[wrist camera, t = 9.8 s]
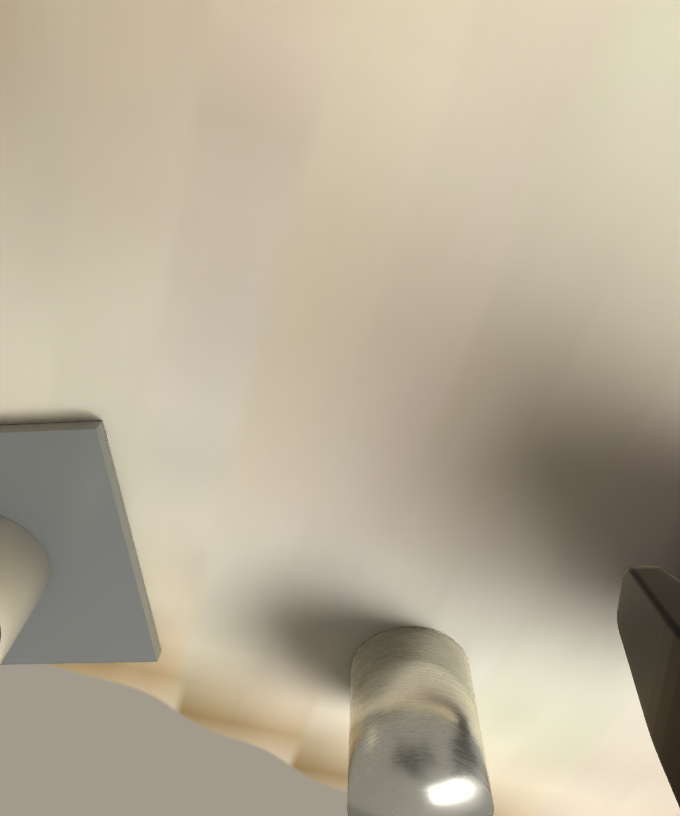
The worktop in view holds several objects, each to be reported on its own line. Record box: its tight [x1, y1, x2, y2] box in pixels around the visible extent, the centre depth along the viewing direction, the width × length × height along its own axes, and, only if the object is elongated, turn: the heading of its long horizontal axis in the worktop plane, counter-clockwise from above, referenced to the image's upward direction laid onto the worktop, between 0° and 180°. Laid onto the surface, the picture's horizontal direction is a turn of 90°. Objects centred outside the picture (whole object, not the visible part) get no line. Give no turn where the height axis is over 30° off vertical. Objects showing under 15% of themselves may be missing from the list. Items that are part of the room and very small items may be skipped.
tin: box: [347, 627, 494, 816], centre depth 25 cm, size 5×5×6 cm
